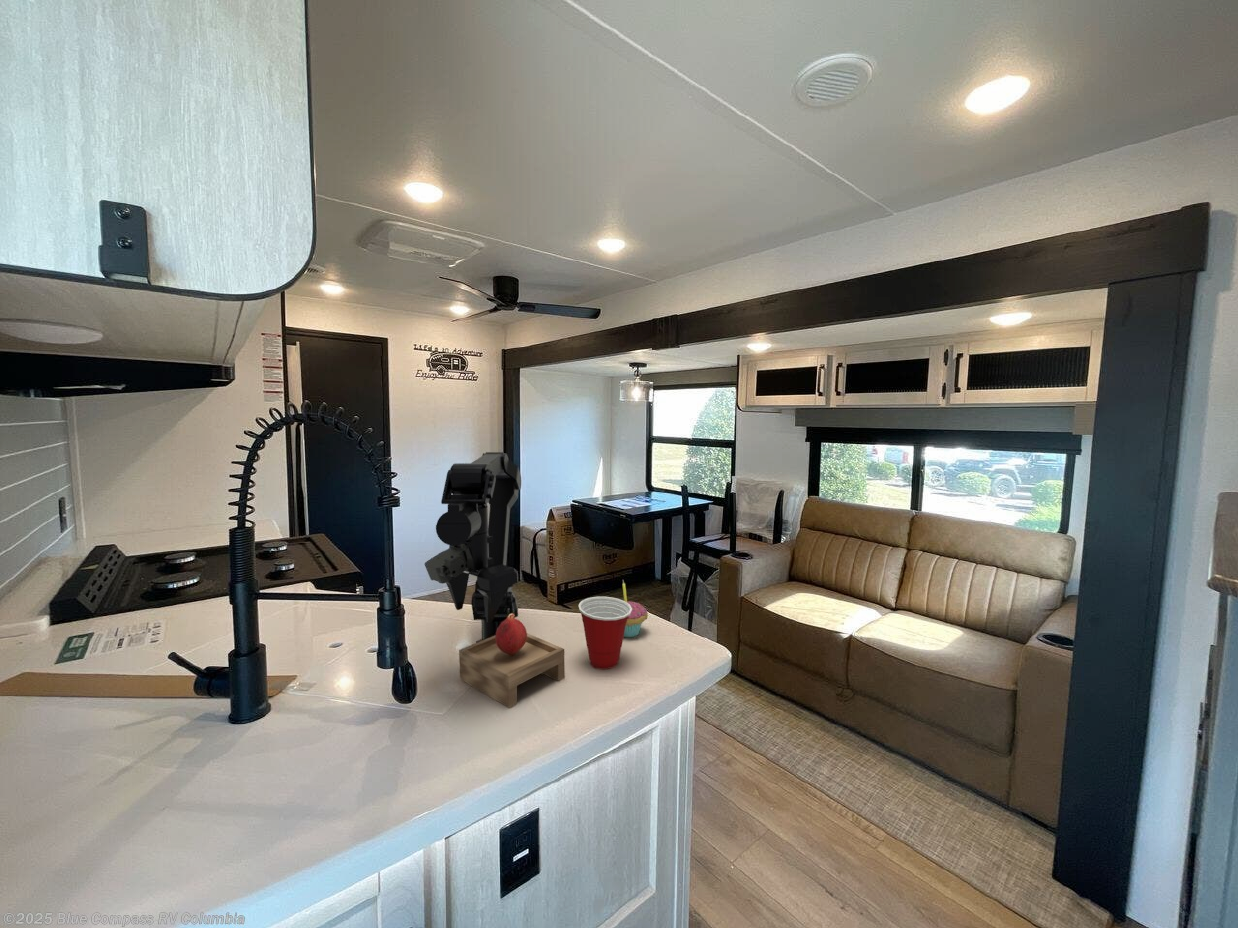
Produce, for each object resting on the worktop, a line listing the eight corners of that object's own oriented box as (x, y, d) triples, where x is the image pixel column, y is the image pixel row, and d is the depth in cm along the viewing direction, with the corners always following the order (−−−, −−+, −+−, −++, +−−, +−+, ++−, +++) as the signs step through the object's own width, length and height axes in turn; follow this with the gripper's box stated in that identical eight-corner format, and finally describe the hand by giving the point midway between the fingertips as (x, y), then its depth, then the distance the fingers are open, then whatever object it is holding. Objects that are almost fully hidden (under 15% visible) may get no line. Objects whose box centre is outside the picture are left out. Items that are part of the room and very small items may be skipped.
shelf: (459, 678, 93) (459, 649, 93) (514, 653, 103) (514, 627, 103) (509, 708, 84) (508, 675, 83) (564, 677, 94) (564, 648, 93)
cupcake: (603, 632, 114) (602, 581, 113) (629, 622, 120) (629, 574, 119) (628, 644, 108) (628, 591, 107) (655, 633, 113) (655, 582, 112)
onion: (512, 665, 89) (510, 622, 88) (489, 658, 92) (487, 616, 91) (533, 652, 94) (532, 611, 93) (511, 645, 97) (509, 606, 96)
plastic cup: (619, 680, 93) (619, 619, 92) (569, 669, 97) (568, 610, 96) (639, 655, 103) (639, 599, 102) (593, 646, 107) (592, 592, 106)
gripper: (402, 532, 89) (405, 616, 90) (464, 549, 77) (467, 644, 79) (456, 522, 98) (458, 599, 99) (519, 536, 86) (520, 622, 87)
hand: (474, 615), depth 91 cm, fingers open, 9 cm apart
